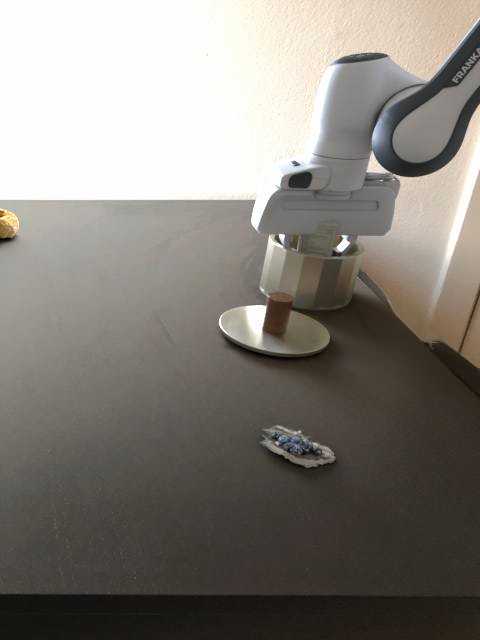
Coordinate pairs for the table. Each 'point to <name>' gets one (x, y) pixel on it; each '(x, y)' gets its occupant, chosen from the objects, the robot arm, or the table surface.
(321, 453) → the blueberries
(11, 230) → the bagel
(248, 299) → the table surface
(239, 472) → the table surface
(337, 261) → the pot
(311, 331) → the lid
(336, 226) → the box
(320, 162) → the robot arm
